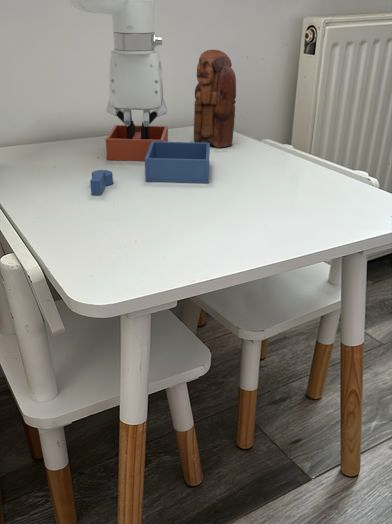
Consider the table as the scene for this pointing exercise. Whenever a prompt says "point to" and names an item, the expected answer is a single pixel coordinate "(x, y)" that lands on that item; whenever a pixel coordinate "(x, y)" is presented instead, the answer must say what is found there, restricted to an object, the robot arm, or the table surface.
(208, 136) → the wooden figurine
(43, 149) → the table surface
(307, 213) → the table surface
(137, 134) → the red curved block
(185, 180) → the blue bin
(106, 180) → the blue curved block
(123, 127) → the red bin
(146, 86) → the robot arm
